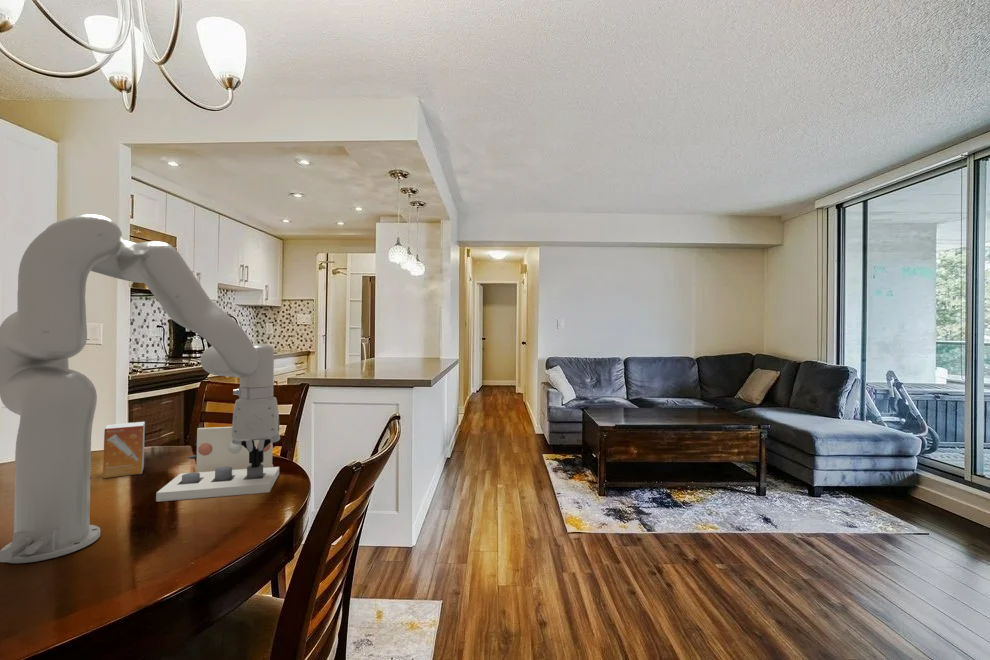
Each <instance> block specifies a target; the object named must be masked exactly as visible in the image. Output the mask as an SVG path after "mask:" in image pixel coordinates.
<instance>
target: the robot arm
mask: <svg viewBox="0 0 990 660" xmlns="http://www.w3.org/2000/svg"><path fill="white" fill-rule="evenodd" d="M18 268H19V269H18V275H17V293H16V295H17V296H16V297H17V311H15V312H13V313H12V314H9V316H7V317H6V318H5V319H4V320H3V321H2V323H0V400H1V402H2V405H4V407H5V408H6V409H8V411H10V412H12V413H14V414H15V415H17V416H18V415H19V416H20V417H19V424H18V429H17V434H16V435H17V436H16V439H15V440H16V441H15V450H14V452H15V453H14V462H15V463H14V464H15V465H14V467H15V470H14V471H15V472H14V473H15V475H14V513H13V514H14V515H13V516H14V517H13V520H14V521H13V534H12V541H10V542H9V543H8V544H6V545H5V546H3V547H2V548H1V549H0V563H7V564H27V563H28V564H29V563H35V562H40V561H46V560H50V559H55V558H59V557H62V556H65V555H69V554H71V553H75V552H76V551H77V552H78V551H79V550H81V549H84V548H85V547H88V546H89V545H91V544H93V543H94V542H96V541H97V540H98V539H99V538H100V536H101V527H99V526H98V525H94V524H90V523H91V522H90V519H91V518H90V513H91V512H90V511H91V481H90V476H92V475H91V473H92V472H91V470H92V469H91V468H92V467H91V466H92V465H91V464H92V459H91V458H92V453H91V451H92V449H91V448H92V431H93V423H94V418H95V414H96V413H95V412H96V408H97V401H98V395H97V389H96V387H95V385H94V383H93V382H92V380H90V378H89V377H87V376H86V375H85V374H83V373H81V372H80V371H77V370H74V369H70V368H69V359H70V358H73V357H74V356H77V355H78V354H79V353H80V352H82V351H83V349H84V348H85V347H86V345H87V341H88V340H87V339H88V325H87V307H86V306H87V304H86V291H87V290H86V288H87V287H86V285H87V279H88V277H89V274H90V272H94V273H95V274H96V273H97V274H100V275H104V276H107V277H111V278H114V279H118V280H123V281H127V282H132V283H137V284H142V283H144V285H146V287H147V288H148V289H149V291H150V292H151V294H152V295H153V296H154V297H155V299H156V301H157V302H158V303H159V305H160V306H161V307H162V310H164V312H165V313H166V315H168V317H169V319H171V320H172V321H173V322H174V323H176V324H178V325H179V326H181V327H182V328H185V329H188V330H190V331H191V332H193V333H195V334H197V335H198V336H200V337H201V338H202V339H204V340H205V341H206V342H207V343H208V344H209V345H210V346H209V347H207V348H206V349H204V351H203V352H202V354H201V356H200V358H199V359H200V360H199V361H200V366H201V368H203V370H204V371H206V372H207V373H208V374H210V375H212V376H213V375H214V376H220V377H229V378H230V377H231V378H239V387H238V388H236V389H233V391H232V395H233V396H234V395H236V396H238V399H236V400H235V403H234V408H233V413H232V425H231V427H232V438H233V440H232V443H233V444H238V445H242V446H244V447H245V448H246V449H247V450H248V451H249V463H251V467H259V466H260V465H261V463H262V462H263V460H264V448H265V447H266V446H267V445H268V444H269V443H277V442H279V441H280V439H281V436H280V415H279V413H280V412H279V406H278V399H277V397H275V396H274V381H275V380H274V379H275V378H274V377H275V376H274V374H275V373H274V372H275V371H274V368H275V367H274V366H275V364H274V363H275V360H274V359H275V353H274V347H273V346H271V345H270V344H253V343H252V340H250V338H249V336H248V335H247V334H246V332H245V331H244V329H243V328H242V327H241V326H240V325H239V323H237V322H236V321H235V320H234V319H233V318H232V317H231V316H229V314H228V313H226V312H225V310H223V309H222V308H221V307H220V306H218V305H217V304H215V303H214V302H213V301H212V300H211V299H210V297H209V295H208V294H207V293H206V291H205V290H204V288H203V286H202V285H201V283H200V282H199V281H198V279H197V278H196V276H195V274H194V273H193V272H192V270H191V268H190V267H189V266H188V264H187V262H186V261H185V259H184V257H182V254H180V252H179V251H178V249H176V248H175V247H174V246H173V245H172V244H169V243H167V242H165V241H161V240H160V241H159V240H158V241H157V240H152V241H143V242H133V241H129V240H126V239H123V234H122V231H121V228H120V226H119V225H118V224H117V223H116V222H114V221H113V220H112V219H111V218H109V217H107V216H104V215H100V214H93V213H84V214H79V215H75V216H72V217H69V218H65V219H62V220H58V221H55V222H53V223H52V224H50V225H49V226H47V227H46V228H45V229H44V230H43V231H42V232H41V233H40V234H38V235H37V236H36V237H35V238H34V239H33V240H32V241H31V243H30V244H29V245H28V246H27V247H26V249H25V251H24V253H23V255H22V257H21V260H20V262H19V267H18ZM254 440H259V445H258V448H256V447H255V442H254Z"/></svg>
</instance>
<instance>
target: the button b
mask: <svg viewBox="0 0 990 660" xmlns="http://www.w3.org/2000/svg"><path fill="white" fill-rule="evenodd" d="M231 480H232V467H231V466H224V467H219V468H216V469H215V482H221V481H231Z"/></svg>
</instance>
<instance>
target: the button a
mask: <svg viewBox="0 0 990 660" xmlns="http://www.w3.org/2000/svg"><path fill="white" fill-rule="evenodd" d="M187 473H188V474H184V475H182V484H194V483H199V482H200V473H195V472H187Z"/></svg>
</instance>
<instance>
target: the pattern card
mask: <svg viewBox="0 0 990 660" xmlns="http://www.w3.org/2000/svg"><path fill="white" fill-rule="evenodd" d="M196 434H197V435H196V446H197V459H196V463H195V465H196V467H195V468H196V470H195V471H196V472H210V471H215V469H216V468H219V467H224V466H231V467H232V470H239V469H247V467H248V466H250V465H251V463H249V451H248V450H247V449H246V448H245V447H244V446H242V445H238V444H233V443H232V440H233V438H232V426H224V427H223V426H219V427H215V426H214V427H198V428H197V429H196ZM254 442H255V447H256V448H258V445H259V440H254ZM273 443H274V442H273ZM273 443H269V444H268V445H267V446H266V447H265V448H264V460H263V462H262V463H261V464H262V465H263V468H268V467H274V464H273Z"/></svg>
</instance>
